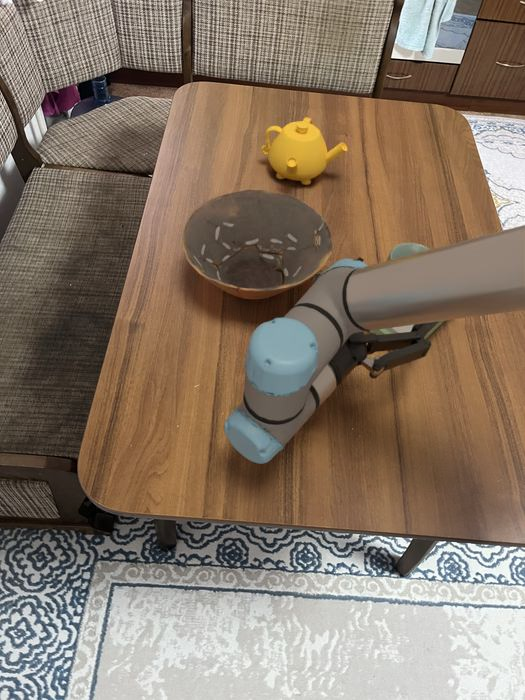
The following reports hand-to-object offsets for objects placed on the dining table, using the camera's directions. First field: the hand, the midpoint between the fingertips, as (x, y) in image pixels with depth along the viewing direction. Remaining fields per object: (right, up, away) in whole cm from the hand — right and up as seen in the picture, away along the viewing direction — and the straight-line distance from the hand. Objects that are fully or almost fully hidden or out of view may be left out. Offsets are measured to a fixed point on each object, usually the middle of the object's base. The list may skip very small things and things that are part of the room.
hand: (396, 285), depth 83 cm
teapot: (-13, +28, +33) cm, 45 cm away
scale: (+2, -4, +11) cm, 12 cm away
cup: (+2, -2, +9) cm, 9 cm away
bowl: (-22, +3, +14) cm, 26 cm away
